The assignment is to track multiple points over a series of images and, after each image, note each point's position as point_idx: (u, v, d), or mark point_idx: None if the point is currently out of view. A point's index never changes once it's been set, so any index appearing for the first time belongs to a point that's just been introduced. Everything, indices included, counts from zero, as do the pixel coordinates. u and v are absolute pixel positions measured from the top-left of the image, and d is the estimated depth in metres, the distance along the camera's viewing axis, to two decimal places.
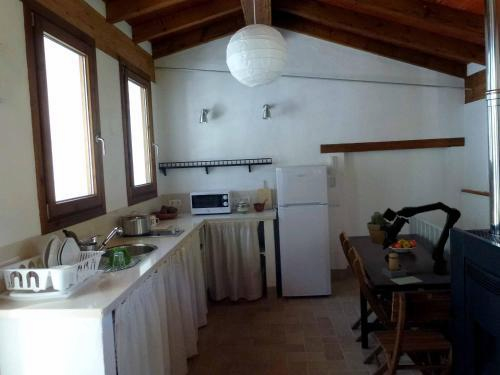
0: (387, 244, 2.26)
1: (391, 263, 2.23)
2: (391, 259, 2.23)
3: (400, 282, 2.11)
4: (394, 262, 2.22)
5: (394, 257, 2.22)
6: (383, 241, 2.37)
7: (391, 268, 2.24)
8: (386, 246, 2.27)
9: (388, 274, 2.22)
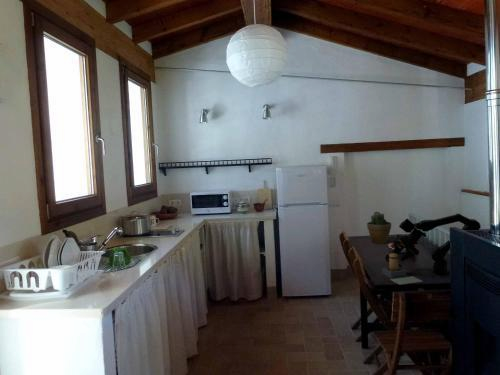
0: (407, 255, 2.20)
1: (391, 263, 2.23)
2: (391, 259, 2.23)
3: (400, 282, 2.11)
4: (394, 262, 2.22)
5: (394, 257, 2.22)
6: (393, 252, 2.30)
7: (391, 268, 2.24)
8: (405, 257, 2.20)
9: (388, 274, 2.22)
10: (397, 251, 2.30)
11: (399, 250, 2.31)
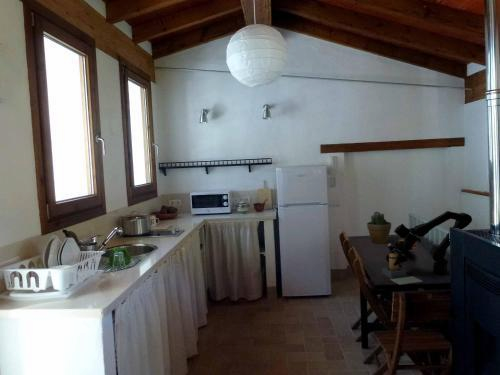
0: (400, 260, 2.21)
1: (391, 263, 2.23)
2: (391, 259, 2.23)
3: (400, 282, 2.11)
4: (394, 262, 2.22)
5: (394, 257, 2.22)
6: None
7: (391, 268, 2.24)
8: (398, 262, 2.21)
9: (388, 274, 2.22)
10: None
11: None
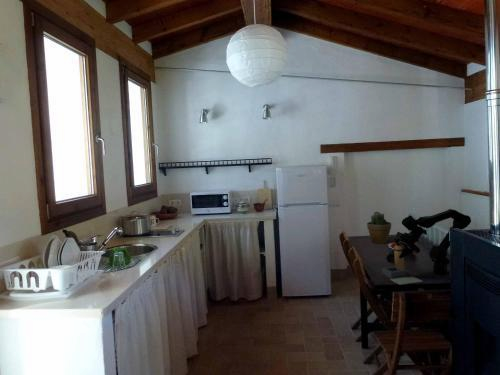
0: (405, 253, 2.15)
1: (396, 256, 2.17)
2: (396, 251, 2.17)
3: (400, 282, 2.11)
4: (399, 255, 2.16)
5: (399, 249, 2.16)
6: None
7: (396, 261, 2.18)
8: (404, 255, 2.15)
9: (388, 274, 2.22)
10: None
11: None
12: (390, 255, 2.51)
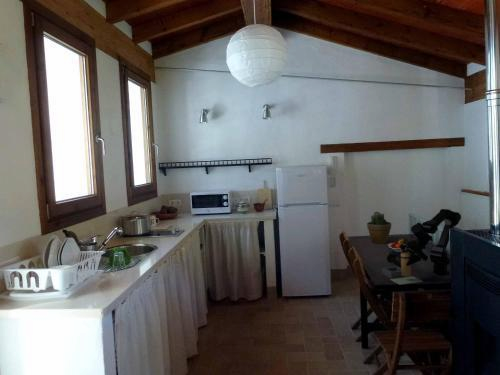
0: (412, 260, 2.09)
1: (403, 263, 2.11)
2: (403, 259, 2.11)
3: (400, 282, 2.11)
4: (406, 262, 2.10)
5: (406, 257, 2.10)
6: None
7: (403, 268, 2.12)
8: (411, 262, 2.09)
9: (388, 274, 2.22)
10: None
11: None
12: (390, 255, 2.51)
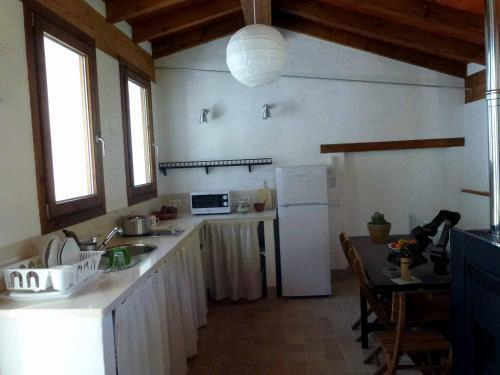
0: (414, 264, 2.08)
1: (403, 268, 2.12)
2: (403, 264, 2.11)
3: (400, 282, 2.11)
4: (406, 267, 2.11)
5: (406, 262, 2.10)
6: (400, 260, 2.17)
7: (403, 274, 2.12)
8: (413, 266, 2.08)
9: (388, 274, 2.22)
10: None
11: None
12: (391, 255, 2.51)
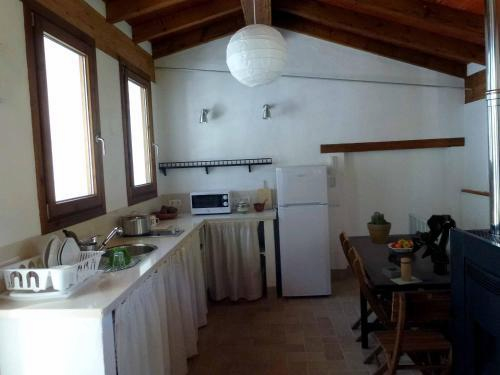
0: (428, 253, 2.10)
1: (403, 268, 2.12)
2: (403, 264, 2.11)
3: (400, 282, 2.11)
4: (406, 267, 2.11)
5: (406, 262, 2.10)
6: (413, 249, 2.20)
7: (403, 274, 2.12)
8: (426, 255, 2.11)
9: (388, 274, 2.22)
10: (416, 248, 2.21)
11: (418, 247, 2.21)
12: (391, 255, 2.51)
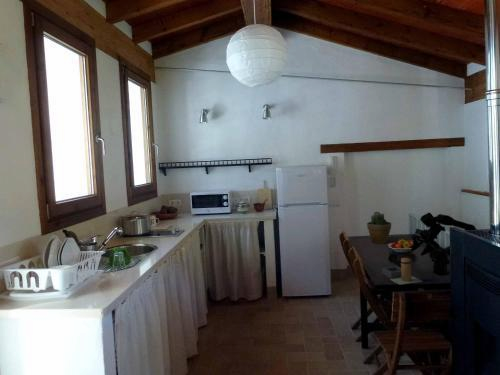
0: (427, 250, 2.15)
1: (403, 268, 2.12)
2: (403, 264, 2.11)
3: (400, 282, 2.11)
4: (406, 267, 2.11)
5: (406, 262, 2.10)
6: (412, 247, 2.25)
7: (403, 274, 2.12)
8: (425, 252, 2.15)
9: (388, 274, 2.22)
10: (416, 246, 2.26)
11: (418, 245, 2.26)
12: (392, 255, 2.51)
